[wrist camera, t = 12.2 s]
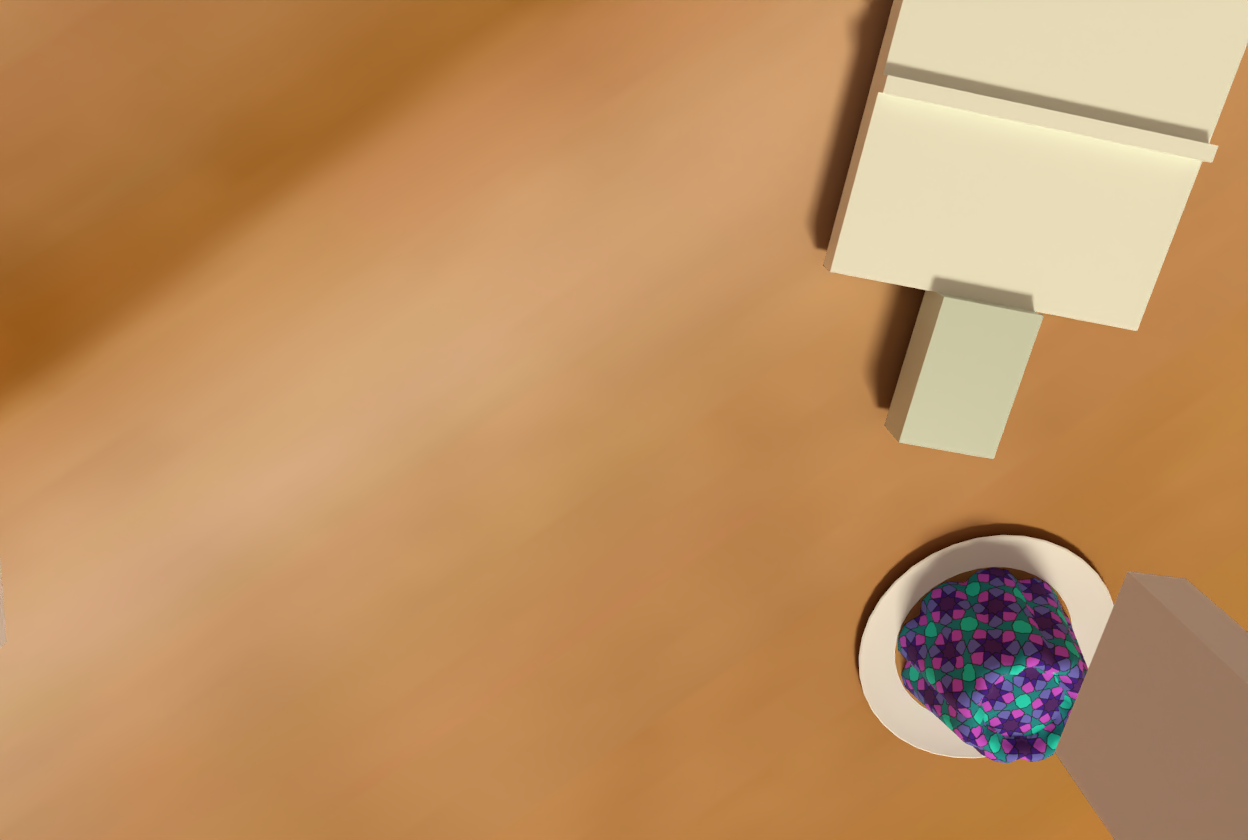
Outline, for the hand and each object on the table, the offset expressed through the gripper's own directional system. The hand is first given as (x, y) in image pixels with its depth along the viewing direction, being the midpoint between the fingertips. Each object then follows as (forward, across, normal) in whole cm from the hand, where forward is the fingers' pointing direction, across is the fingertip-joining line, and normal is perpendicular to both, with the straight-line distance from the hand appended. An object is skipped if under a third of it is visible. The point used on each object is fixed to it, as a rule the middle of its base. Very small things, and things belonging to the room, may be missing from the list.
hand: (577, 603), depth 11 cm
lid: (+28, +16, +7) cm, 33 cm away
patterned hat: (+27, +22, -17) cm, 39 cm away
